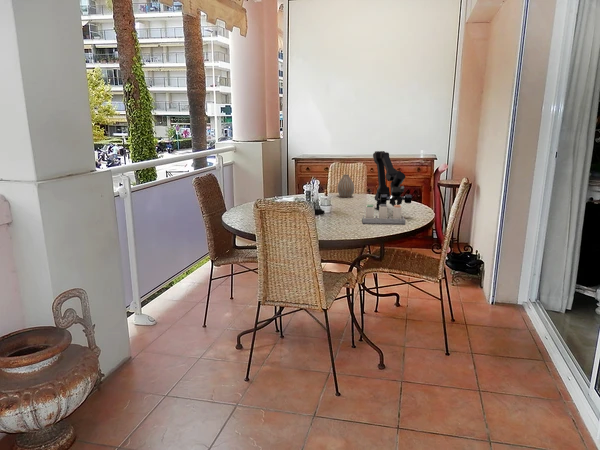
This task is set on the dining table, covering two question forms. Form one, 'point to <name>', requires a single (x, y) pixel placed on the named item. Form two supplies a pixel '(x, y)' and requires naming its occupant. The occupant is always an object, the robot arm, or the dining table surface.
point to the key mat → (385, 223)
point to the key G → (369, 211)
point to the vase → (345, 186)
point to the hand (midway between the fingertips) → (396, 210)
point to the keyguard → (383, 220)
